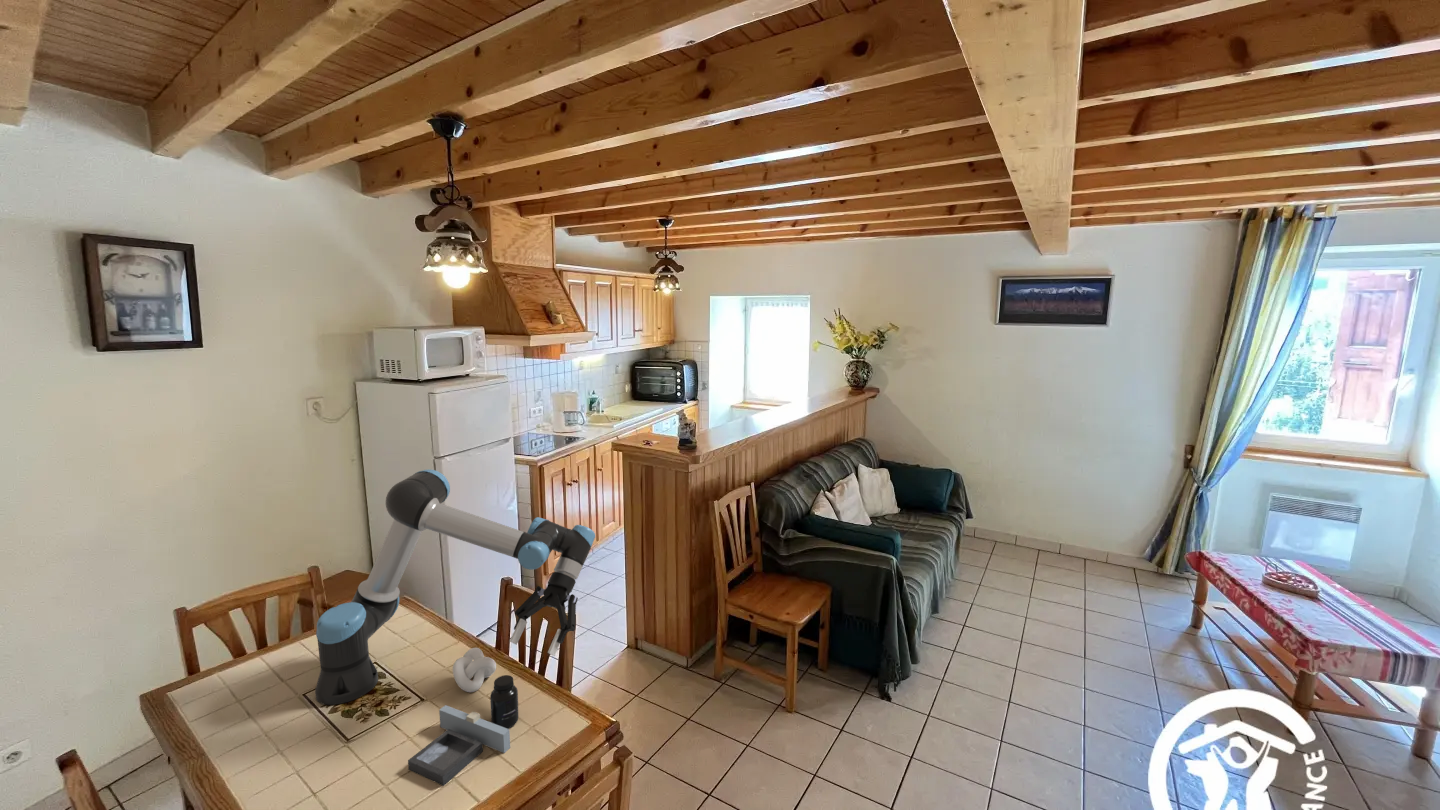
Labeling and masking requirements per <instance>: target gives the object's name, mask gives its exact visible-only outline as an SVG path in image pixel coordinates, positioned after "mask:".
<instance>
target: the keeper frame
mask: <svg viewBox="0 0 1440 810" xmlns="http://www.w3.org/2000/svg"><path fill="white" fill-rule="evenodd" d="M483 746H484V745H483V744H482V742H480V741H478V740H475V739H473V738H470V737H468V736H465V735H463V734H460V733H458V732H455V731H453V730H451V729H448V730H446V729H445V731H443V732H442V733H441V734H440V735H439V736H437V737H436V738H435V739H434V740H432V741H431V742H430V743H428V744H427V745H426V746H424V747H423V748H421V750H420V751H418V752H416V754H414V755H413V756H412V757H410V758H409V759H408V760H407V766H408V771H411V772H412V773H414V774H416V775H419V776H421V777H423V778H425V779H427V780H429V781H431V782H434V783H436V784H438V785H440V786H443V787H444V786H446V784H448V783H449V782H450V781H452V780H453V778H454V777H455V776H457V775H458V774H459V773H460V772H462V771H463V770H464V769H465V768H466V767H467V766H468V765H469V764H471V763H472V762H473V761H474V760H476V759H477V757H478V756H479V755H481V754H482V753H483V752H484V751H483V750H484V747H483Z"/></svg>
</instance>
